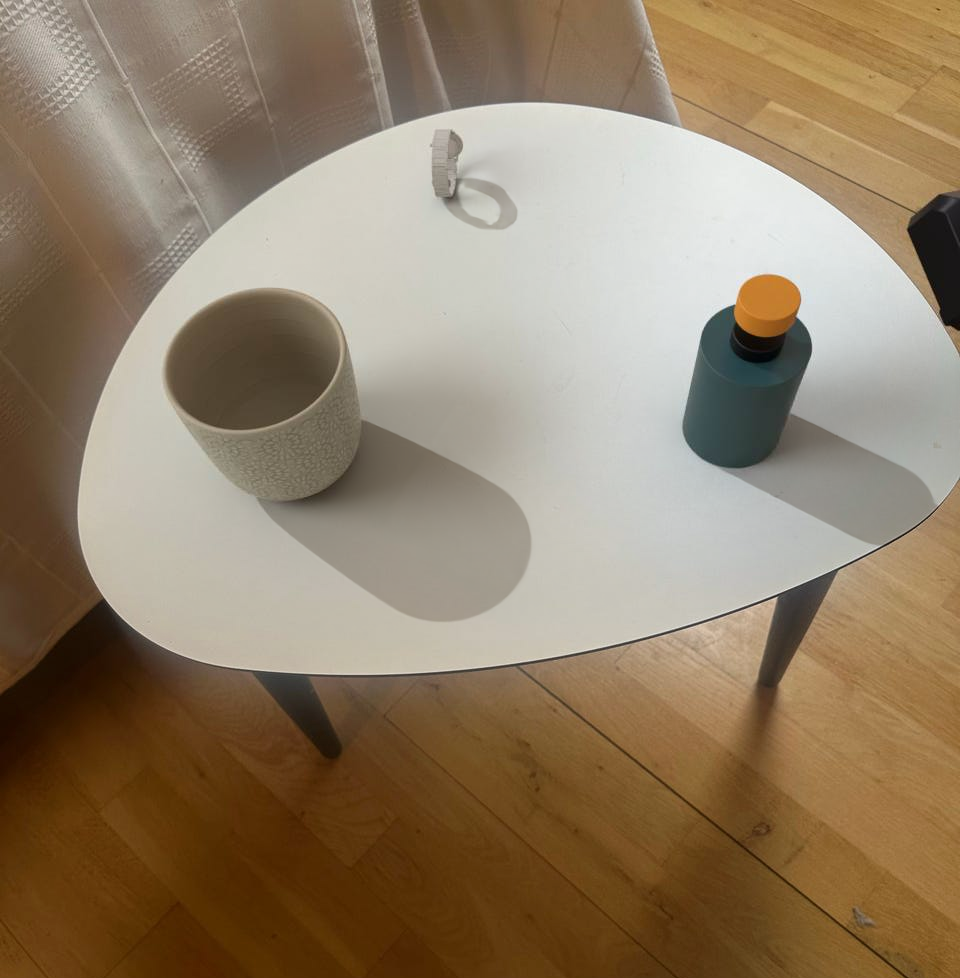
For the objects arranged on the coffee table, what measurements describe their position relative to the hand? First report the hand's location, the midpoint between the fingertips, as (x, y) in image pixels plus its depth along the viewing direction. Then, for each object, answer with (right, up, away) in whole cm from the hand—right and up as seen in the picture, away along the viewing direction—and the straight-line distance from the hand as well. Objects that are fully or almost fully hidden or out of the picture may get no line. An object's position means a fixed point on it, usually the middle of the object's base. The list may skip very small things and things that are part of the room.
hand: (945, 317), depth 54 cm
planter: (-42, -5, +15) cm, 45 cm away
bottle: (-9, -3, +13) cm, 17 cm away
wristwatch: (-31, +21, +26) cm, 45 cm away
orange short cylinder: (-10, +1, +3) cm, 10 cm away
